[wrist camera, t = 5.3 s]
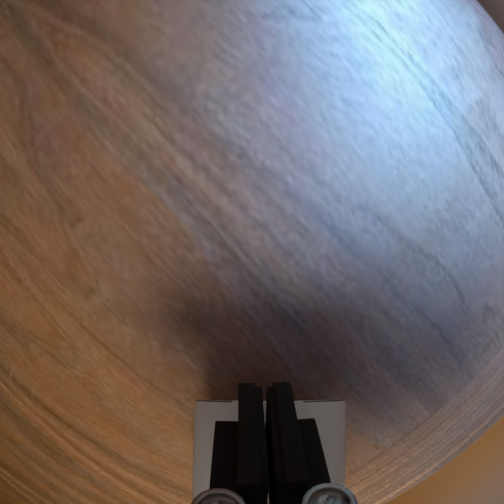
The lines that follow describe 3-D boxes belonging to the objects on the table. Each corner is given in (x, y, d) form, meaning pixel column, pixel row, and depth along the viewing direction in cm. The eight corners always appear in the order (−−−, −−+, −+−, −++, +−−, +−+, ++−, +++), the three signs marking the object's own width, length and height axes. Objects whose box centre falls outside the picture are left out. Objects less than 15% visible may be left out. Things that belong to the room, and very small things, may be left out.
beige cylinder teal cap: (205, 348, 17) (129, 455, 7) (338, 347, 17) (396, 460, 7) (218, 484, 18) (184, 598, 8) (326, 485, 17) (342, 602, 7)
